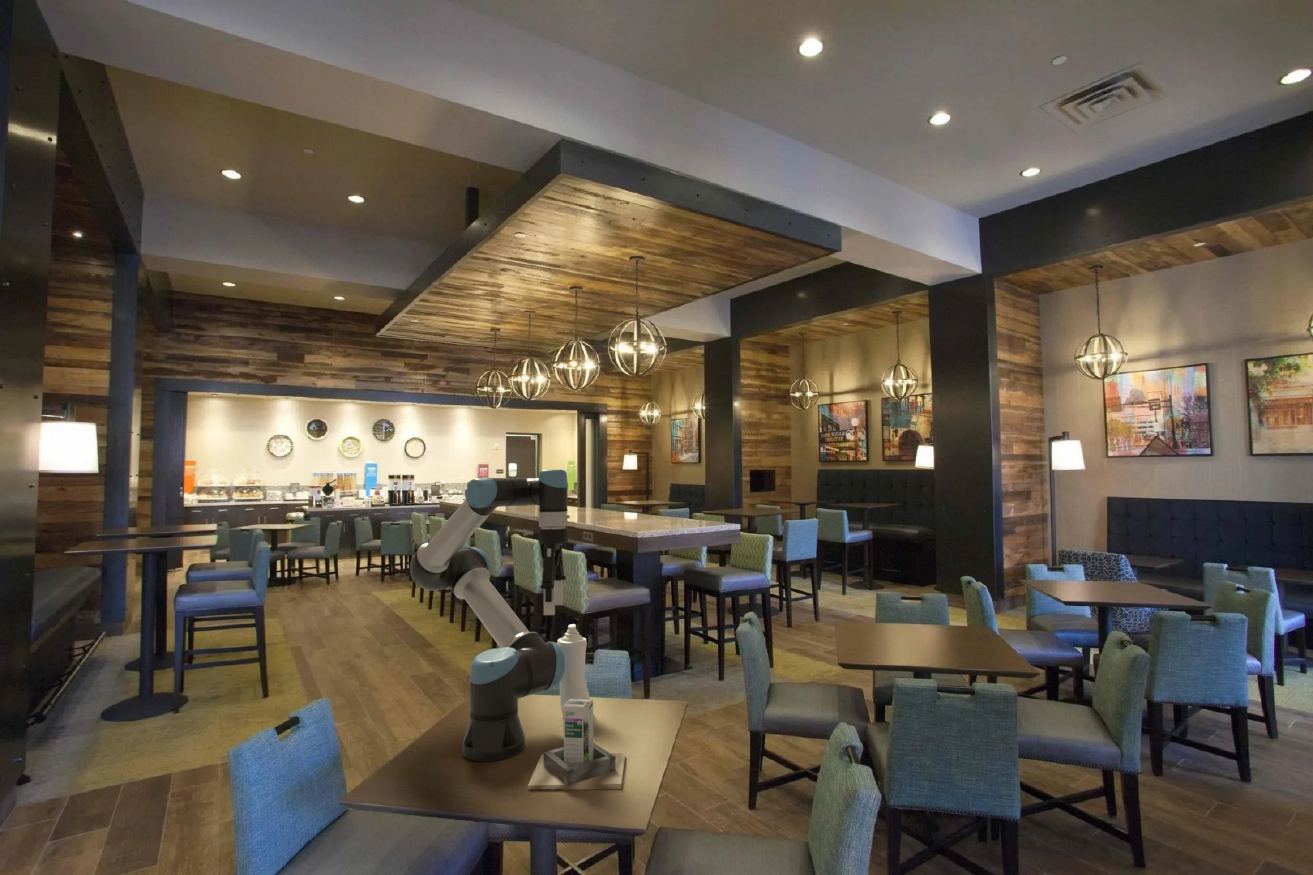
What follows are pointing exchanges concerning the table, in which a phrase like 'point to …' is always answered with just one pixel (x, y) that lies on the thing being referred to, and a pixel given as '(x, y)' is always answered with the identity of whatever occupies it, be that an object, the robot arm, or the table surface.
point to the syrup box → (578, 731)
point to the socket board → (587, 784)
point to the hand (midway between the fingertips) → (553, 609)
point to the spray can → (573, 667)
